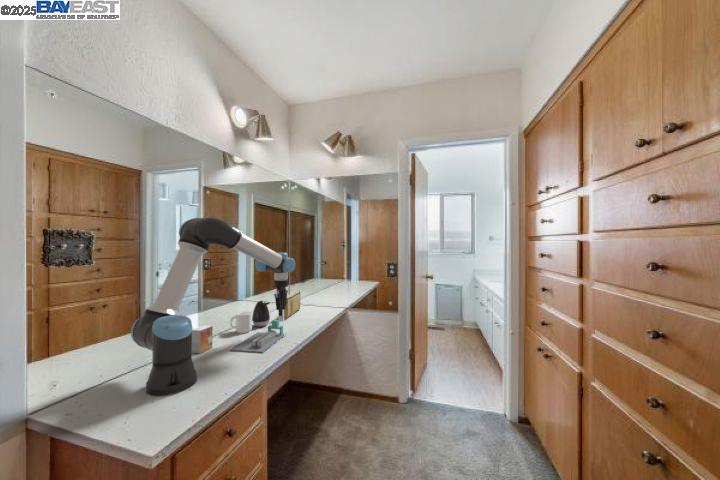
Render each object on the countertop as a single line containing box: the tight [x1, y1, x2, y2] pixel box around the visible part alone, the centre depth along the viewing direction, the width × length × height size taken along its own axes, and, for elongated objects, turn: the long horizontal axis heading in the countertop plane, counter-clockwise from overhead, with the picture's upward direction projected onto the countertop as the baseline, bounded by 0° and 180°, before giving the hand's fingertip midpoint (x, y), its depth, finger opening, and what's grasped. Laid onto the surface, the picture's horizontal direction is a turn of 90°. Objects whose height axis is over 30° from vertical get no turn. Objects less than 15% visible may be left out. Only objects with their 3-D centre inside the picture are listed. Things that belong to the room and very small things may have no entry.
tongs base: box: [257, 329, 277, 348], centre depth 142 cm, size 18×3×3 cm, turn 171°
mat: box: [228, 331, 285, 354], centre depth 143 cm, size 26×17×1 cm, turn 171°
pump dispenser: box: [252, 300, 271, 328], centre depth 172 cm, size 10×10×15 cm
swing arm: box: [252, 331, 271, 348], centre depth 141 cm, size 15×2×3 cm, turn 170°
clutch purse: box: [284, 290, 301, 320], centre depth 198 cm, size 30×7×15 cm, turn 173°
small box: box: [192, 324, 213, 354], centre depth 133 cm, size 8×6×10 cm
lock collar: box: [267, 319, 284, 335], centre depth 153 cm, size 2×8×8 cm, turn 81°
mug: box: [229, 311, 253, 334], centre depth 161 cm, size 12×8×10 cm
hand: (281, 321), depth 161 cm, fingers closed
